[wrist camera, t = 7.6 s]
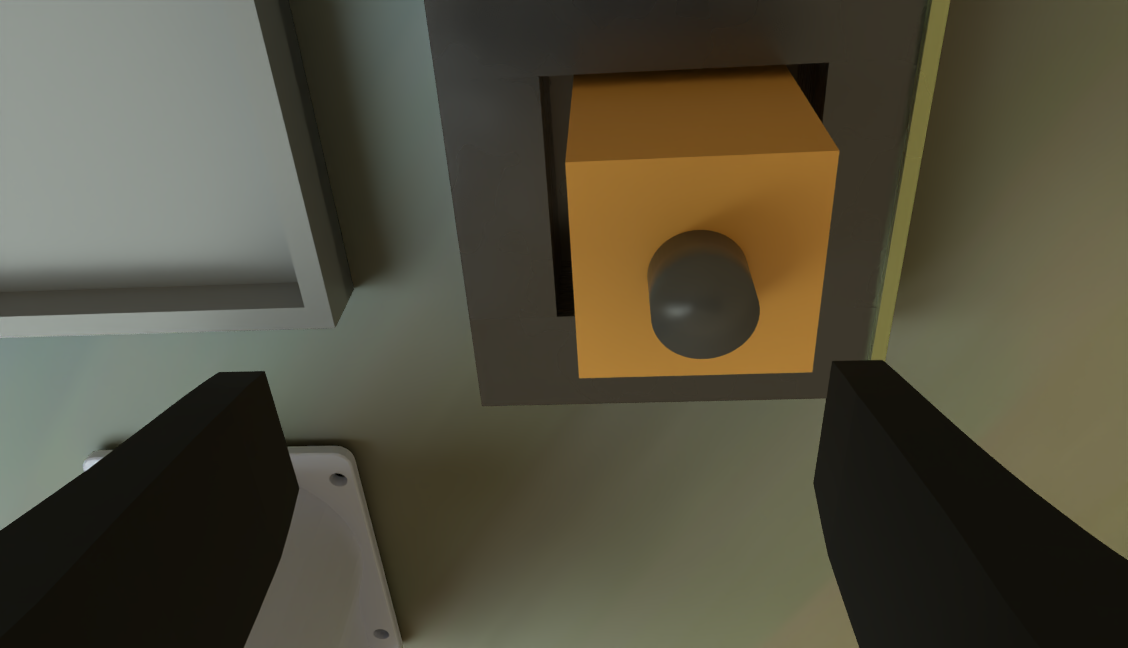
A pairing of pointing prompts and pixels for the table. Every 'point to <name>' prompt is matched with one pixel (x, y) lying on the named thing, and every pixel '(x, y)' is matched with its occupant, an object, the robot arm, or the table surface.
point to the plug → (697, 221)
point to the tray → (161, 172)
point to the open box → (654, 43)
